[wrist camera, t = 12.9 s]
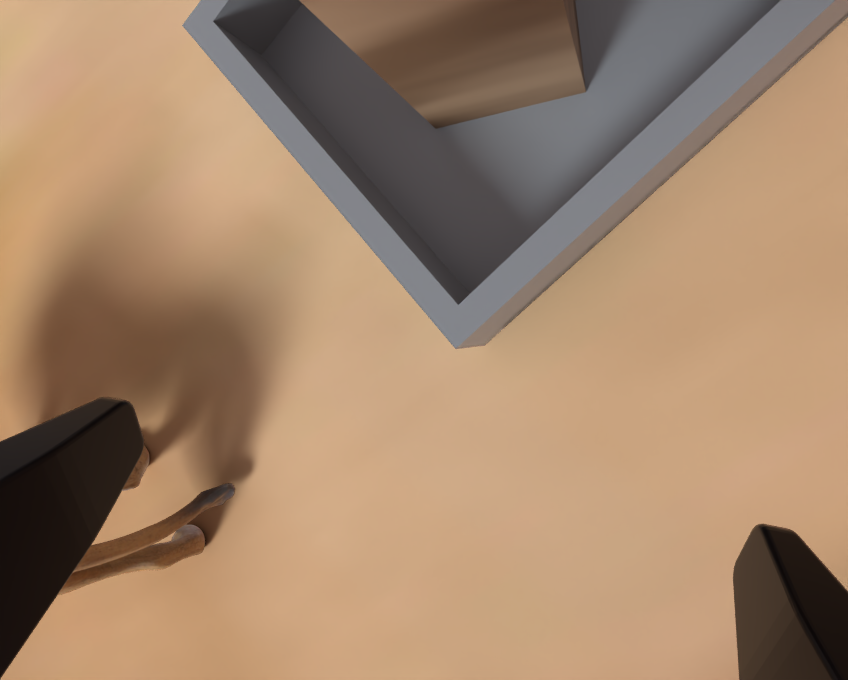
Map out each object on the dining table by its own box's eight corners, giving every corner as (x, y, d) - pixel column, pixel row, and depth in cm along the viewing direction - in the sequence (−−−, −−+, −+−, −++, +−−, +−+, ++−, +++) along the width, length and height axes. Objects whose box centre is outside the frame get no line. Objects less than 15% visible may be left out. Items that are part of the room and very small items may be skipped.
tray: (869, -3, 15) (921, -80, 12) (484, 345, 18) (455, 348, 16) (520, -285, 18) (496, -401, 15) (244, 65, 21) (182, 25, 18)
